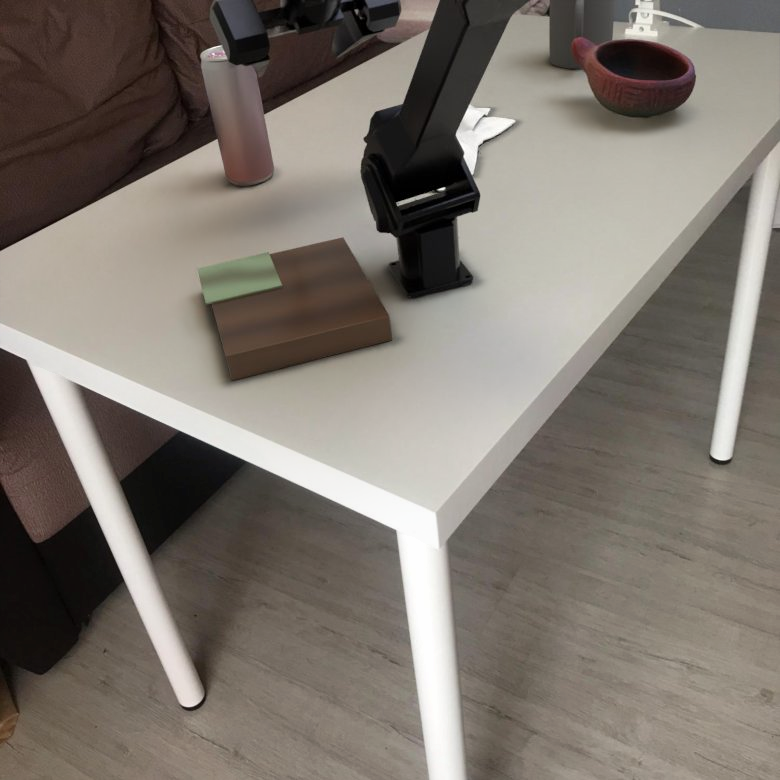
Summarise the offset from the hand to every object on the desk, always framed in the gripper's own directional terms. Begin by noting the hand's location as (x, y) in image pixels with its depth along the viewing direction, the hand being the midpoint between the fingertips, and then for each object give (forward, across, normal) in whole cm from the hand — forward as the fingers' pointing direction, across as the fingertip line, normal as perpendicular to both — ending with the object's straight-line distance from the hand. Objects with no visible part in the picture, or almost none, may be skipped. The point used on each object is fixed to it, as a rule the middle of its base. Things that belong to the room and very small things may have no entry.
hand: (296, 63), depth 94 cm
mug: (+19, -48, 0) cm, 52 cm away
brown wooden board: (-8, +14, +29) cm, 33 cm away
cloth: (+10, -17, +10) cm, 22 cm away
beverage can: (+15, +6, +4) cm, 17 cm away
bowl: (+6, -40, +14) cm, 43 cm away
